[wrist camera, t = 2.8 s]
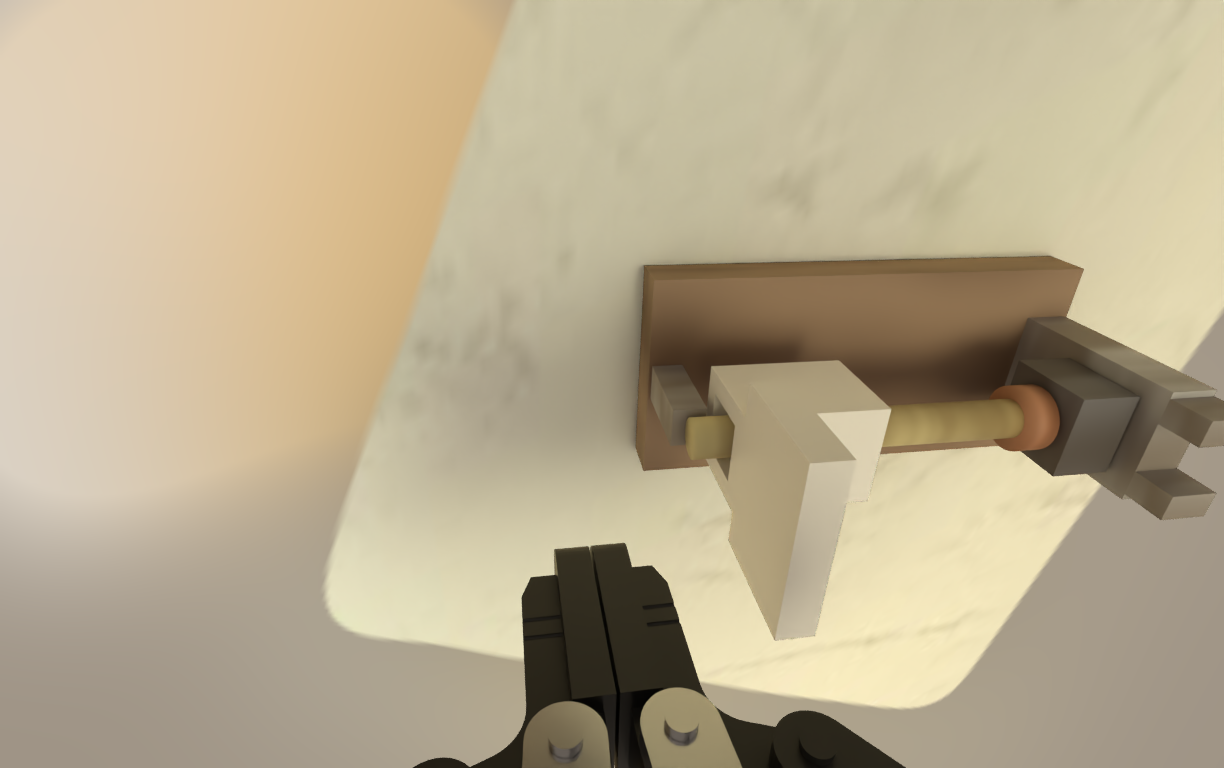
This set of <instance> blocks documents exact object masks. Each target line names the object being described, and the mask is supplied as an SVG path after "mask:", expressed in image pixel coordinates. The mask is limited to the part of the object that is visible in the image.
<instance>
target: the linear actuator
mask: <svg viewBox="0 0 1224 768" xmlns="http://www.w3.org/2000/svg"><path fill="white" fill-rule="evenodd" d="M1083 270H1084V269H1083V268H1080V267H1077V266H1075V265H1072V264H1070V263H1067V262H1064V261H1062V260H1059V259H1057V258H1054V257H1051V256H1041V257H997V258H954V259H911V260H868V261H825V262H781V263H738V264H695V265H652V266H644V284H643V305H642V326H641V347H640V368H639V388H638V409H637V430H636V450H637V453H638V456H639V459H640V462H641V465H642V468H643V471H646V470H660V469H674V468H689V467H703V466H709V464H708V462H707V460H706V459H714V458H729V457H731V453H732V445H733V438H734V430H735V425H734V423H733V422H732V420H731V419H730V417H729V415H722V416H706V415H707V402H708V393H709V383H710V374H711V366H727V365H749V364H770V363H791V362H813V361H834V360H839V361H840V362H841V363H842V364H843V365H844V366H846V367H847V368H848V369H849V370H850V371H851V372H852V373H853V374H854V375H855V376H856V377H857V378H858V379H860V380H861V381H862V382H863V383H864V384H865V385H866V386H867V387H868V388H869V389H870V390H871V391H872V392H874V393H875V394H876V395H877V396H878V397H879V398H880V399H881V400H882V401H883V402H884V403H885V404H886V405H888V406H889V407H890V408H891V413H890V417H889V421H888V425H887V428H886V432H885V436H884V440H883V444H882V448H881V452H880V454H888V453H902V452H916V451H931V450H945V449H959V448H973V447H988V446H1000V447H1001V448H1003V449H1005V450H1008V451H1021V452H1022V453H1024V454H1025V455H1026V456H1028V457H1029V458H1030V459H1031V460H1033V461H1034V462H1035V463H1037V464H1038V465H1039V466H1040V467H1042V468H1043V469H1044V470H1046V471H1047V472H1048V473H1049V474H1051V475H1052V476H1063V475H1076V474H1088V475H1089V476H1090V477H1092V478H1093V479H1095V480H1096V481H1097V482H1099V483H1100V484H1101V485H1103V486H1104V487H1106V488H1107V489H1108V490H1110V491H1111V492H1112V493H1114V494H1115V495H1116V496H1118V497H1119V498H1121V499H1132V500H1134V501H1135V502H1137V503H1138V504H1139V505H1141V506H1142V507H1143V508H1145V509H1146V510H1148V511H1149V512H1150V513H1152V514H1153V515H1155V516H1156V517H1157V518H1159V519H1160V520H1168V519H1179V518H1188V517H1200V516H1204V515H1205V513H1206V511H1207V510H1208V508H1209V506H1210V504H1211V502H1212V501H1213V499H1214V497H1215V495H1216V492H1214V491H1212V490H1211V489H1209V488H1208V487H1206V486H1204V485H1203V484H1201V483H1200V482H1198V481H1196V480H1195V479H1193V478H1192V477H1190V476H1188V475H1187V474H1185V473H1184V472H1182V471H1180V470H1179V469H1177V467H1178V465H1179V463H1180V461H1181V459H1182V457H1183V455H1184V453H1185V452H1186V450H1187V448H1188V446H1189V444H1190V443H1192V444H1193V445H1195V446H1197V447H1199V448H1202V447H1216V446H1224V401H1223V400H1221V399H1219V398H1216V397H1214V396H1215V394H1216V392H1217V389H1214V388H1212V387H1210V386H1208V385H1206V384H1204V383H1202V382H1200V381H1198V380H1196V379H1194V378H1192V377H1189V376H1187V375H1185V374H1183V373H1181V372H1179V371H1177V370H1175V369H1173V368H1171V367H1169V366H1166V365H1164V364H1162V363H1160V362H1158V361H1156V360H1154V359H1152V358H1150V357H1148V356H1146V355H1144V354H1141V353H1139V352H1137V351H1135V350H1133V349H1131V348H1129V347H1127V346H1125V345H1123V344H1121V343H1119V342H1116V341H1114V340H1112V339H1110V338H1108V337H1106V336H1104V335H1102V334H1100V333H1098V332H1096V331H1093V330H1091V329H1089V328H1087V327H1085V326H1083V325H1081V324H1079V323H1077V322H1075V321H1073V320H1071V319H1068V318H1066V316H1067V313H1068V311H1069V308H1070V305H1071V302H1072V300H1073V297H1074V294H1075V292H1076V289H1077V286H1078V284H1079V281H1080V278H1081V276H1082V273H1083Z"/></svg>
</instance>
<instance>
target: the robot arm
mask: <svg viewBox="0 0 1224 768" xmlns="http://www.w3.org/2000/svg"><path fill="white" fill-rule="evenodd" d="M554 565H555V575H550V576H540V577H531V579H530V581H529V583H528V585H527V587H526V589H525V591H524V593H523V595H522V618H523V640H524V664H525V686H526V716H525V721H524V723H523V726H522V728H521V730H520V732H519V734H518V735H517V737H516V738H515V739H514V740H513V741H512V742H511V743H510V744H509V745H508V746H507V747H506V748H505V749H504V750H502V751H501V752H499V753H498V754H496V755H494V756H492V757H490V758H488V759H486V760H484V761H482V762H480V763H478V764H476V765H473V766H471V767H469V766H467V765H466V764H465V763H463V762H461V761H459V760H456V759H452V758H435V759H431V760H428V761H425V762H423V763H420V764H418V765H417V766H415V767H413V768H614V765H615V768H905V767H904V766H902V765H901V764H899V763H898V762H896V761H895V760H893V759H892V758H891V757H889V756H888V755H886V754H885V753H883V752H882V751H880V750H879V749H877V748H876V747H874V746H873V745H871V744H870V743H868V742H866V741H865V740H864V739H862V738H861V737H859V736H858V735H856V734H855V733H853V732H852V731H851V730H849V729H848V728H846V727H845V726H843V725H842V724H840V723H839V722H837V721H836V720H834V719H832V718H830V717H829V716H826V715H824V714H822V713H818V712H814V711H796V712H793V713H790V714H788V715H786V716H785V717H783V718H782V719H781V720H780V721H779V723H778V724H777V726H776V727H773V726H767V725H762V724H756V723H750V722H746V721H742V720H738V719H736V718H733V717H731V716H729V715H727V714H725V713H723V712H722V711H720V710H719V709H718V708H716V707H715V706H714V705H713V703H712V702H711V701H709V699H708V698H707V697H706V695H705V694H704V692H703V690H702V688H701V685H700V683H699V679H698V676H697V673H696V670H695V667H694V664H693V661H692V658H691V655H690V651H689V648H688V645H687V642H686V639H685V636H684V633H683V630H682V627H681V624H680V623H679V617H678V614H677V611H676V608H675V607H674V602H673V599H672V596H671V592H670V589H669V586H668V583H667V582H666V580H665V579H664V578H663V577H662V576H661V575H660V574H659V573H658V572H657V571H656V569H655V568H654V567H653V566H642V567H632V565H631V562H630V558H629V554H628V550H627V547H626V544H625V543H617V544H606V545H595V546H591V547H590V549H589V547H588V546H586V547H575V548H564V549H555V550H554Z"/></svg>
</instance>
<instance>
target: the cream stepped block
mask: <svg viewBox="0 0 1224 768" xmlns="http://www.w3.org/2000/svg"><path fill="white" fill-rule="evenodd" d="M890 413H891V408H890V407H889V406H888V405H886V404H885V403H884V402H883V401H882V400H881V399H880V398H879V397H878V396H877V395H876V394H875V393H874V392H872V391H871V390H870V389H869V388H868V387H867V386H866V385H865V384H864V383H863V382H862V381H861V380H860V379H858V378H857V377H856V376H855V375H854V374H853V373H852V372H851V371H850V370H849V369H848V368H847V367H846V366H844V365H843V364H842V363H841V362H840V361H839V360H834V361H813V362H791V363H770V364H749V365H727V366H711V374H710V383H709V393H708V402H707V415H706V416H722V415H729V417H730V419H731V420H732V422H733V423H734V425H735V430H734V438H733V445H732V453H731V457H729V458H714V459H706V460H707V462H708V464H709V466H710V468H711V470H712V472H713V474H714V476H715V478H716V480H717V482H718V484H719V486H720V488H721V490H722V492H723V494H724V497H725V499H726V501H727V503H728V505H729V507H730V509H731V511H732V518H731V525H730V532H729V539H728V541H729V543H730V545H731V547H732V549H733V551H734V554H735V556H736V558H737V560H738V562H739V564H740V567H741V569H742V571H743V573H744V575H745V577H746V580H747V582H748V584H749V586H750V588H751V590H752V593H753V595H754V597H755V599H756V601H757V603H758V606H759V608H760V610H761V612H762V614H763V616H764V619H765V621H766V623H767V625H768V627H769V629H770V632H771V634H772V636H773V638H774V640H775V641H776V640H785V639H794V638H803V637H812V636H815V634H816V630H817V625H818V621H819V617H820V613H821V609H822V604H823V600H824V596H825V592H826V588H827V584H828V579H829V575H830V571H831V567H832V563H833V558H834V554H835V550H836V546H837V542H838V537H839V533H840V529H841V525H842V521H843V517H844V512H845V508H846V504H847V503H850V502H862V501H868V498H869V495H870V491H871V487H872V483H873V479H874V475H875V471H876V467H877V463H878V460H879V456H880V452H881V448H882V444H883V440H884V436H885V432H886V428H887V425H888V421H889V417H890Z"/></svg>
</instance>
